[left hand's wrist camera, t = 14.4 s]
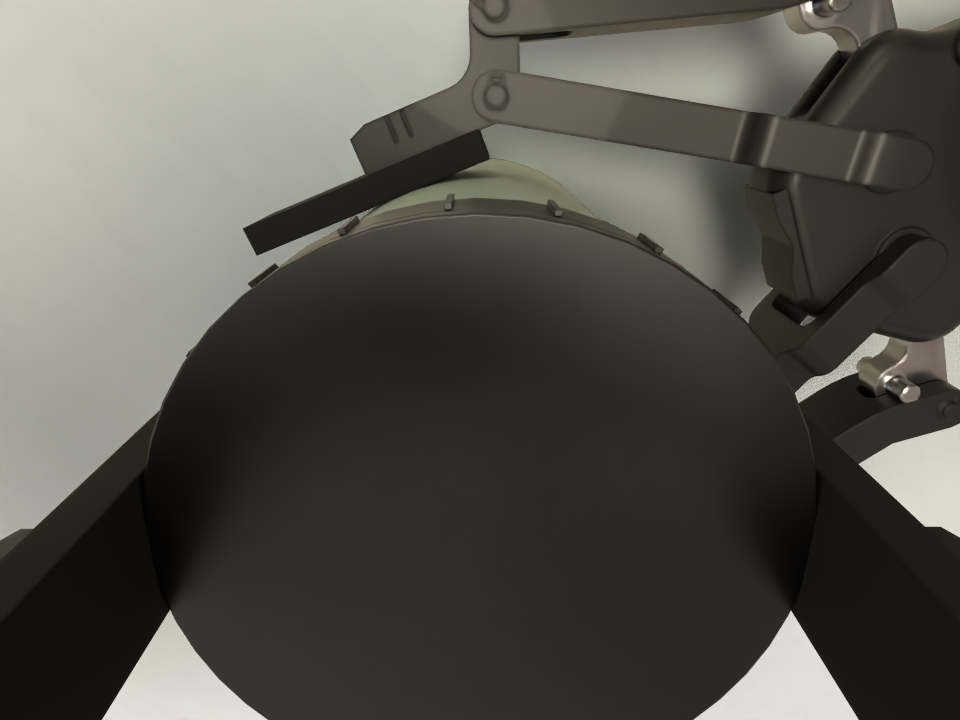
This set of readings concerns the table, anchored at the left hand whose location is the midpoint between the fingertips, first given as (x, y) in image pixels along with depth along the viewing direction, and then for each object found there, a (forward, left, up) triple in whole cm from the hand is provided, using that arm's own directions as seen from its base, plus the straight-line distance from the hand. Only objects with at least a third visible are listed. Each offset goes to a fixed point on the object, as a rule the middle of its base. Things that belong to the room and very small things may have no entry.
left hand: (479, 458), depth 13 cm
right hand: (-4, -2, -6) cm, 8 cm away
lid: (0, 0, +3) cm, 3 cm away
